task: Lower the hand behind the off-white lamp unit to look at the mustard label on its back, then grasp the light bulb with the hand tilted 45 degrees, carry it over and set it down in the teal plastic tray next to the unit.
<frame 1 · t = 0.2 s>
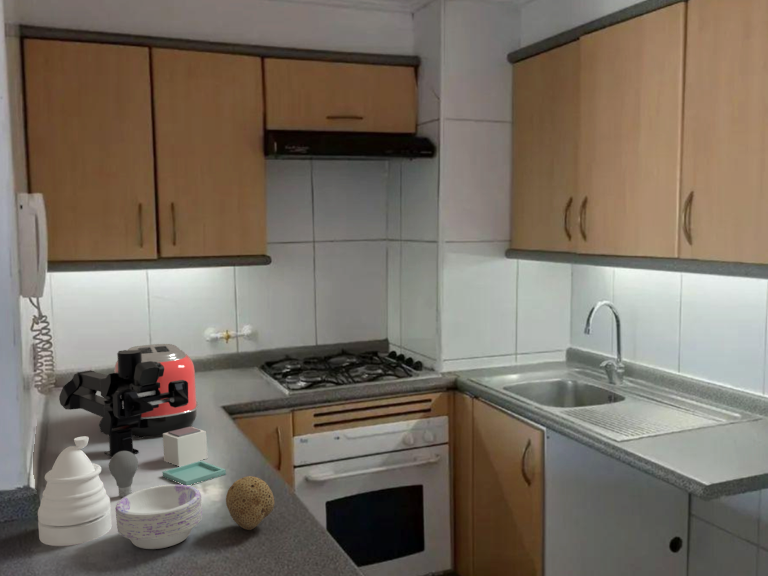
hand: (170, 404, 169), 17 cm above the worktop, tool horizontal, fingers open, 9 cm apart
honey pot: (76, 532, 139), on the worktop
lamp unit: (185, 459, 180), on the worktop
tray: (194, 475, 169), on the worktop
paper bowls: (161, 540, 134), on the worktop
toaster: (157, 425, 215), on the worktop
light bulb: (125, 497, 156), on the worktop
natural sponge: (251, 528, 138), on the worktop
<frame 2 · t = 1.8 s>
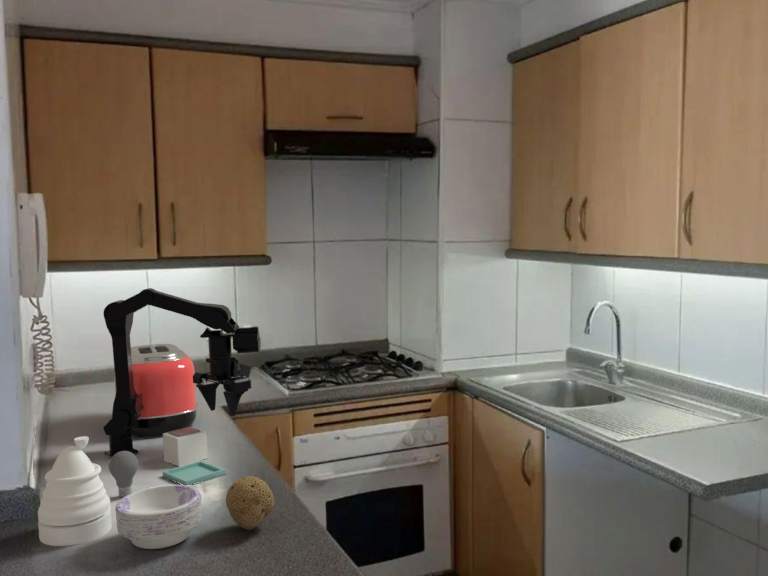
hand: (222, 413, 188), 10 cm above the worktop, tool pointing down, fingers open, 9 cm apart
nothing on the worktop moved.
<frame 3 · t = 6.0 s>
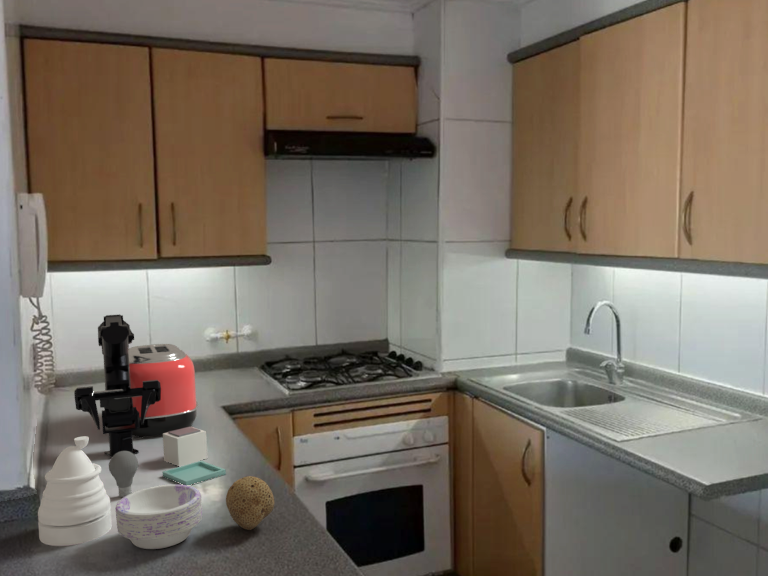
hand: (120, 426, 163), 13 cm above the worktop, tool tilted 45°, fingers open, 9 cm apart
nothing on the worktop moved.
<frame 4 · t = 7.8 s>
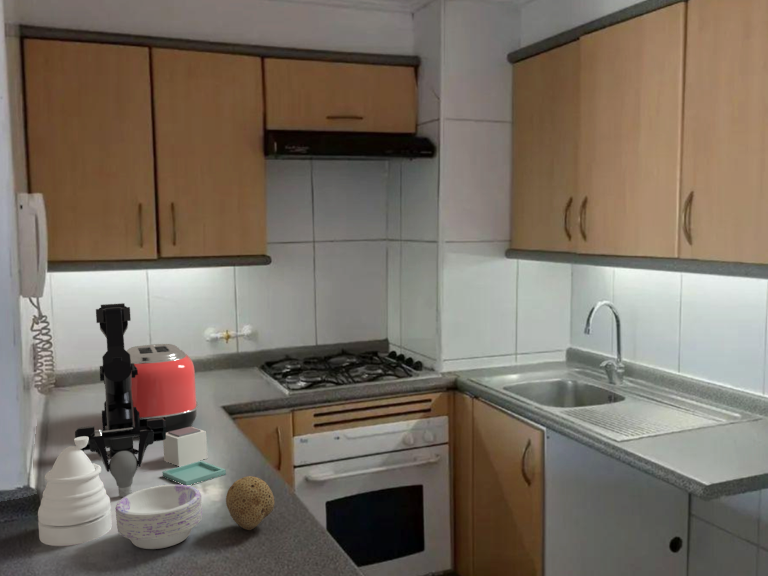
hand: (123, 468, 155), 7 cm above the worktop, tool tilted 45°, fingers closed on light bulb, 6 cm apart
light bulb: (125, 497, 156), on the worktop, touching gripper
everything else where it was.
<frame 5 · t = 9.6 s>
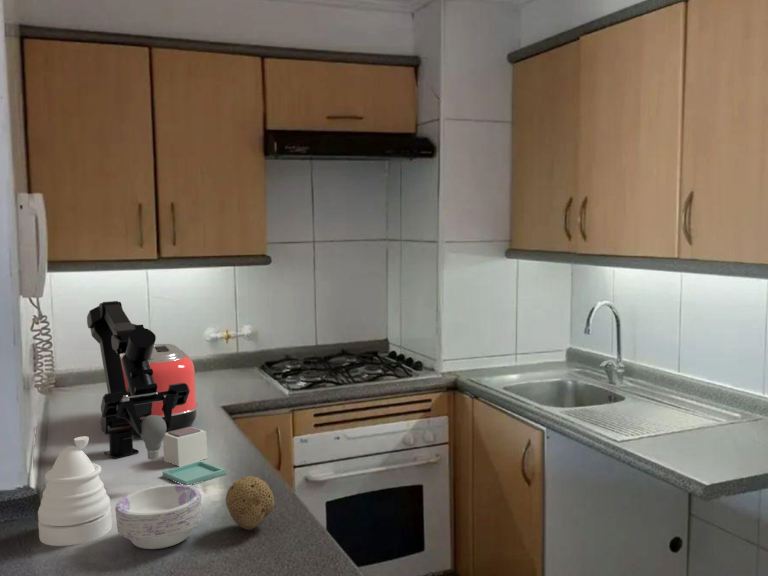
hand: (154, 431, 159), 13 cm above the worktop, tool tilted 45°, fingers closed on light bulb, 6 cm apart
light bulb: (153, 460, 161), point 6 cm above the worktop, touching gripper
everything else where it was.
when the fingers open (8 cm above the worktop, at t = 11.6 s): light bulb stays where it is, resting on tray.
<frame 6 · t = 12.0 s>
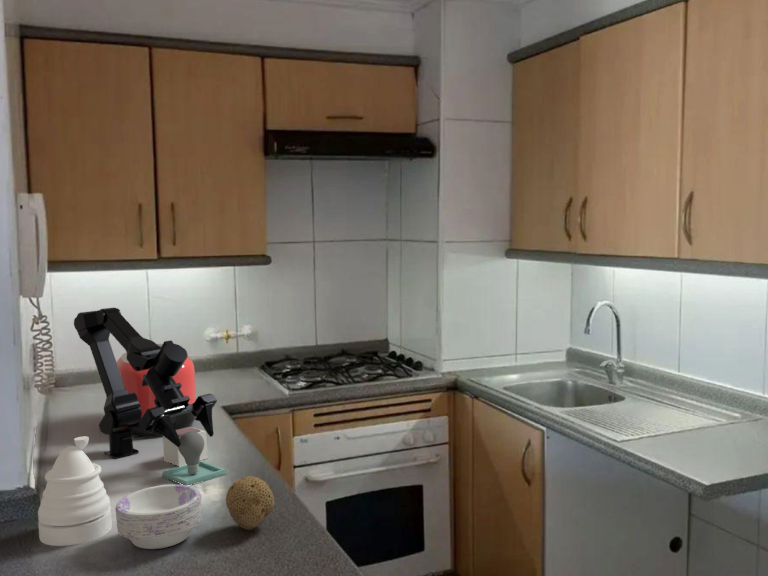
hand: (196, 440, 167), 9 cm above the worktop, tool tilted 45°, fingers open, 9 cm apart
light bulb: (193, 474, 169), resting on tray
everything else where it was.
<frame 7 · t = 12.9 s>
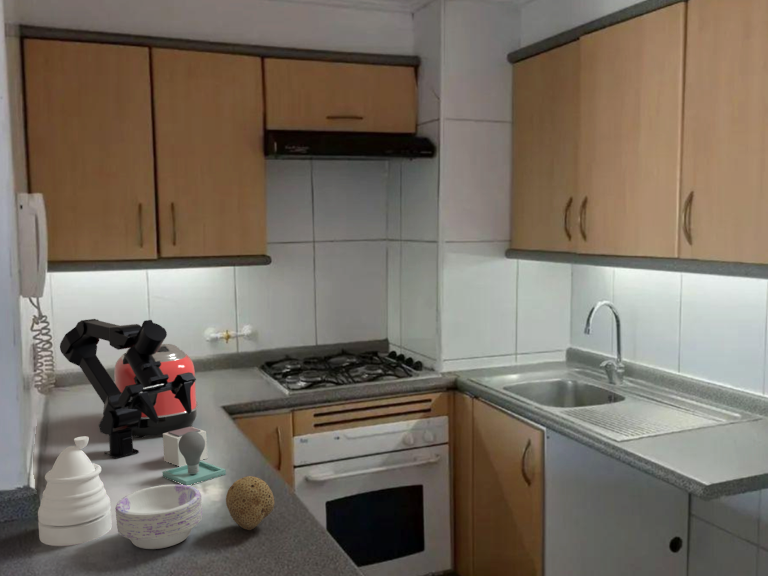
hand: (174, 417, 171), 13 cm above the worktop, tool tilted 45°, fingers open, 9 cm apart
nothing on the worktop moved.
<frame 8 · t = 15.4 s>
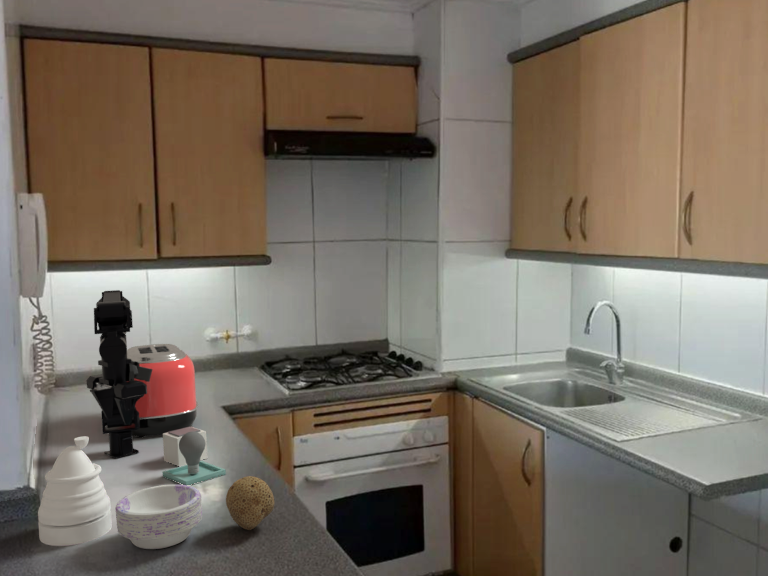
hand: (118, 421, 169), 13 cm above the worktop, tool pointing down, fingers open, 9 cm apart
nothing on the worktop moved.
at the end: light bulb inside the target area on the tray (0.1 cm from its centre), point 0.2 cm above the tray's base; the gripper is holding nothing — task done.
